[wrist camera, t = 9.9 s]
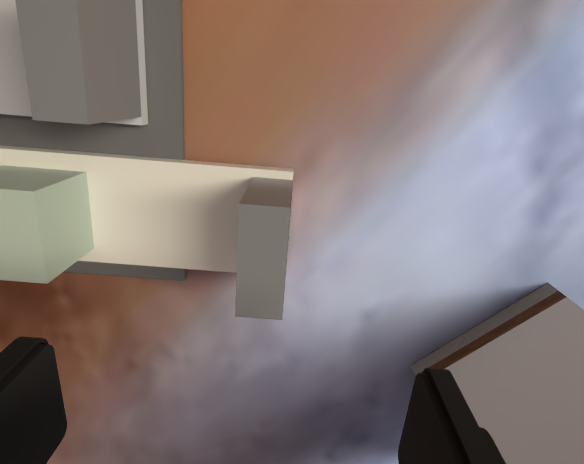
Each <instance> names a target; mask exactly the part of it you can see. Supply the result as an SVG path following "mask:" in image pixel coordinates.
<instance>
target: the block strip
mask: <svg viewBox="0 0 584 464" xmlns="http://www.w3.org/2000/svg"><path fill="white" fill-rule="evenodd" d="M2 165H8V166H20V167H33V168H45V169H58V170H71V171H83V172H87V181H88V191H89V201H90V210H91V220H92V230H93V239H94V249H92V250H91V251H90V252H88V253H87V254H86V255H85V256H83V257H82V258H81V259H79V260H78V261H89V262H102V263H115V264H128V265H142V266H155V267H168V268H181V269H194V270H207V271H220V272H233V273H237V279H236V310H235V317H249V318H262V319H275V320H282V314H283V302H284V289H285V277H286V264H287V252H288V239H289V227H290V214H291V200H292V184H293V170H294V169H290V168H277V167H265V166H252V165H240V164H227V163H215V162H202V161H190V160H177V159H165V158H152V157H140V156H128V155H115V154H103V153H90V152H78V151H65V150H53V149H40V148H28V147H15V146H3V145H0V166H2Z"/></svg>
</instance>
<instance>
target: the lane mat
mask: <svg viewBox="0 0 584 464" xmlns="http://www.w3.org/2000/svg"><path fill="white" fill-rule="evenodd" d="M142 3H143V25H144V46H145V67H146V89H147V110H148V124H146V125H130V124H118V123H105V122H102V123H96V124H89V125H87V124H74V123H62V122H50V121H37V120H32V117H31V116H19V115H7V114H0V145H3V146H15V147H28V148H40V149H53V150H65V151H78V152H90V153H103V154H115V155H128V156H140V157H152V158H165V159H177V160H185V159H184V99H183V38H182V0H142ZM64 272H72V273H85V274H98V275H111V276H124V277H137V278H150V279H163V280H176V281H185V280H186V269H181V268H168V267H155V266H142V265H128V264H115V263H102V262H89V261H77V262H75V263H74V264H73V265H71V266H70V267H69V268H67V269H66V270H65V271H64Z"/></svg>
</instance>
